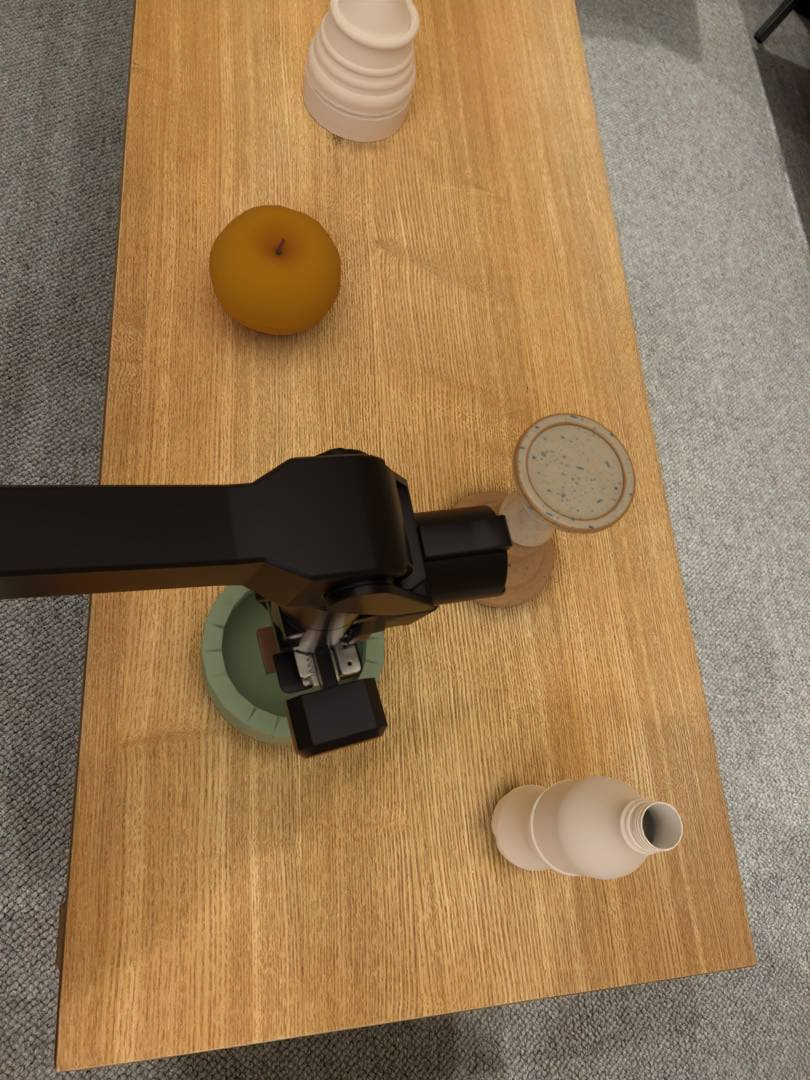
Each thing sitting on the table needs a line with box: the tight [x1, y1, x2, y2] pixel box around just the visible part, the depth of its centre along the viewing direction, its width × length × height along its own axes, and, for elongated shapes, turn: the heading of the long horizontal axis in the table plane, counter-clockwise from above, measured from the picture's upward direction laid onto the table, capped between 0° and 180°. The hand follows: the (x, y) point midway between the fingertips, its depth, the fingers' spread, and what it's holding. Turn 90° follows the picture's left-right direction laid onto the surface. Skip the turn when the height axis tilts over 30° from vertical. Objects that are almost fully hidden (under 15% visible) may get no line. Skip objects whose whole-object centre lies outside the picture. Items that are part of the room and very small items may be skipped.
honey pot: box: [301, 0, 421, 143], centre depth 90 cm, size 13×13×18 cm
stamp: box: [256, 626, 279, 675], centre depth 64 cm, size 6×4×7 cm, turn 106°
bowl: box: [200, 586, 385, 746], centre depth 71 cm, size 15×15×7 cm
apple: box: [208, 204, 342, 336], centre depth 81 cm, size 13×13×11 cm
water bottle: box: [490, 775, 684, 881], centre depth 63 cm, size 7×7×25 cm
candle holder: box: [450, 412, 637, 609], centre depth 73 cm, size 12×12×20 cm
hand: (297, 640), depth 64 cm, fingers closed on stamp, 2 cm apart
